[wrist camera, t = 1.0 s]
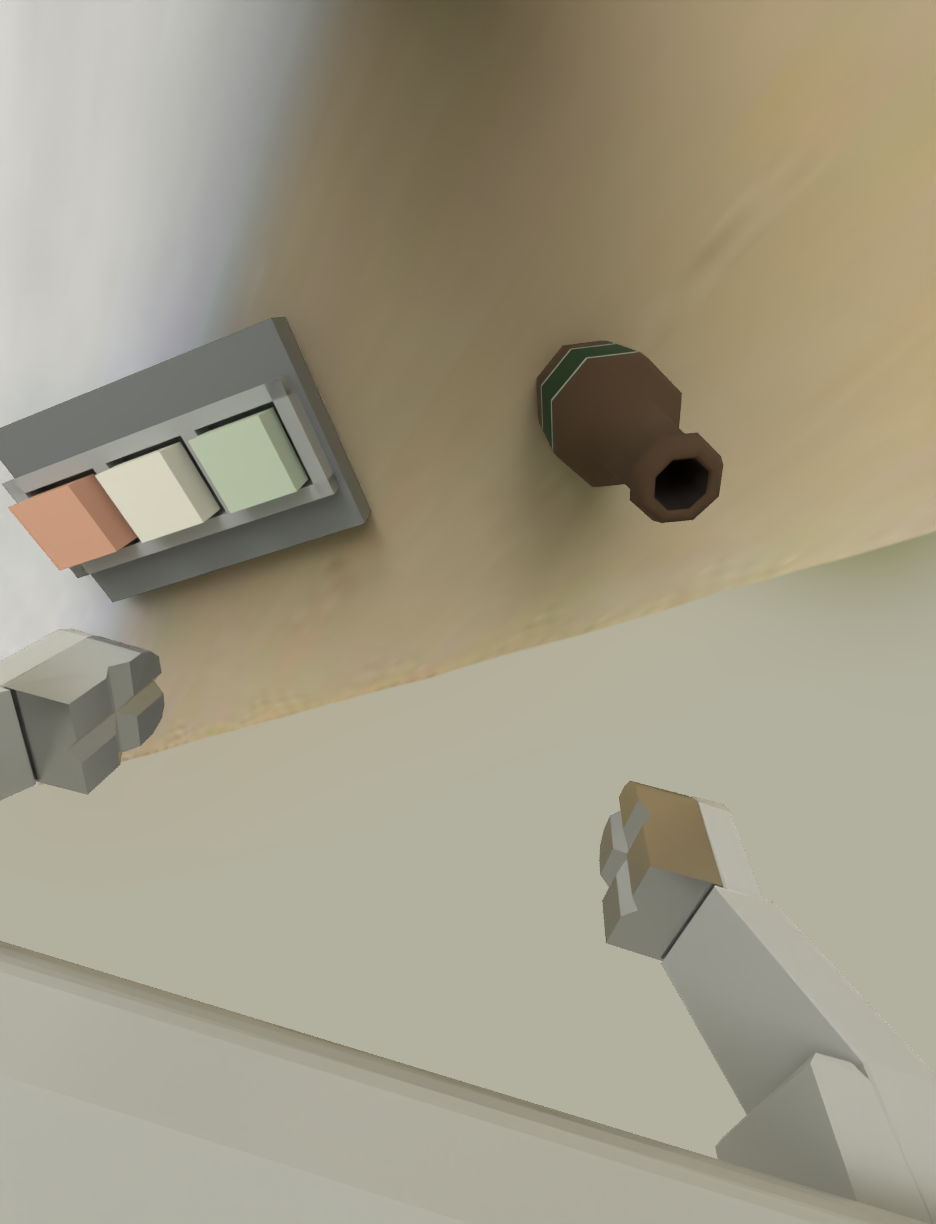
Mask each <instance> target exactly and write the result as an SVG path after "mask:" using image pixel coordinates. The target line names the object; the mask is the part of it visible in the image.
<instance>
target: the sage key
mask: <svg viewBox="0 0 936 1224" xmlns="http://www.w3.org/2000/svg"><path fill="white" fill-rule="evenodd" d="M188 442H189V444H190V445H191V447H192V449H193V450H194V452H195V454H196V456H197V457H198V459H199V461H200V462H201V464H202V466H203V467H204V469H205V471H206V472H207V474H208V476H209V478H210V479H211V481H212V483H213V484H214V486H215V488H216V489H217V491H218V493H219V494H220V496H221V498H222V499H223V501H224V503H225V505H226V506H227V508H228V510H229V511H230V513H234V512H237V511H240V510H243V509H246V508H249V507H252V506H255V505H258V504H261V503H264V502H267V501H270V500H273V499H276V498H279V497H282V496H285V495H288V494H291V493H294V492H297V491H298V490H299V489H300V488H301V486H302V485H303V484H304V483H305V482H306V481H307V480H308V477H307V475H306V473H305V471H304V469H303V467H302V465H301V463H300V461H299V459H298V457H297V455H296V453H295V451H294V449H293V447H292V445H291V443H290V441H289V439H288V437H287V435H286V433H285V431H284V429H283V427H282V425H281V423H280V421H279V418H278V416H277V414H276V412H275V410H274V408H273V407H272V408H270V409H267V410H264V411H262V412H259V413H256V414H253V415H251V416H248V417H245V418H243V419H240V420H237V421H235V422H232V423H229V424H226V425H224V426H221V427H218V428H216V429H213V430H210V431H207V432H205V433H203V434H201V435H199V436H197V437H195V438H193V439H191V440H189V441H188Z"/></svg>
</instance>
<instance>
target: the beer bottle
mask: <svg viewBox="0 0 936 1224" xmlns="http://www.w3.org/2000/svg"><path fill="white" fill-rule="evenodd" d="M681 394H682V393H681V392H680V391H679V390H678V389H677V388H676V387H675V386H674V385H673V384H672V383H671V382H670V381H669V380H668V379H667V378H666V376H665V375H664V374H663V373H662V372H661V371H660V370H659V369H658V368H657V367H656V366H655V365H654V364H653V363H652V362H651V361H650V360H649V359H648V358H647V357H646V356H644V355H643V354H642V353H640V352H638V351H635V350H632V349H629V348H626V347H623V346H620V345H617V344H615V343H612V342H609V341H597V342H588V343H580V344H572V345H564V346H562V347H561V349H560V350H559V351H558V352H557V354H556V355H555V356H554V357H553V359H552V360H551V361H550V362H549V364H548V365H547V366H546V367H545V369H544V370H543V371H542V372H541V374H540V375H539V376H538V377H537V396H538V418H539V423H540V425H541V427H542V429H543V431H544V433H545V435H546V437H547V440H548V442H549V444H550V446H551V448H552V450H553V452H554V453H555V454H556V455H557V456H558V457H559V458H560V459H561V460H562V461H563V462H564V463H566V464H567V465H568V466H569V467H570V468H571V469H572V470H574V471H575V472H576V473H577V474H578V475H579V476H580V477H582V478H583V479H584V480H585V481H586V482H587V483H589V484H590V485H591V486H592V487H599V486H610V485H620V484H626V485H627V486H628V487H629V488H630V501H632V502H633V503H634V504H635V505H636V506H637V507H638V508H639V509H641V510H642V511H643V512H644V513H645V514H646V515H647V516H648V517H650V518H651V519H652V520H653V521H657V522H660V523H665V522H675V521H686V520H693V519H695V518H696V517H697V516H698V515H699V514H700V513H701V512H702V511H703V510H704V509H705V508H707V507H708V506H709V505H710V504H711V503H712V502H713V501H714V500H715V499H716V498H718V497H719V491H720V484H721V477H722V470H723V462H722V459H721V456H720V455H719V454H718V453H717V452H716V451H715V450H714V449H713V448H712V447H711V446H710V445H709V444H708V443H707V442H706V441H705V440H704V439H703V438H702V437H701V436H700V435H699V434H698V433H689V434H684V433H683V432H682V431H681V430H680V429H679V420H680V409H681Z"/></svg>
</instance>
